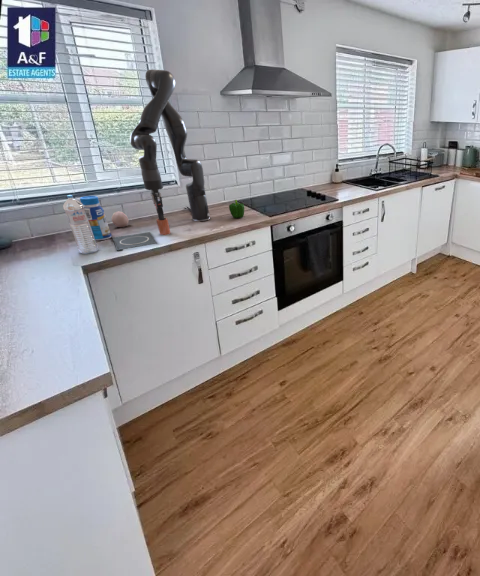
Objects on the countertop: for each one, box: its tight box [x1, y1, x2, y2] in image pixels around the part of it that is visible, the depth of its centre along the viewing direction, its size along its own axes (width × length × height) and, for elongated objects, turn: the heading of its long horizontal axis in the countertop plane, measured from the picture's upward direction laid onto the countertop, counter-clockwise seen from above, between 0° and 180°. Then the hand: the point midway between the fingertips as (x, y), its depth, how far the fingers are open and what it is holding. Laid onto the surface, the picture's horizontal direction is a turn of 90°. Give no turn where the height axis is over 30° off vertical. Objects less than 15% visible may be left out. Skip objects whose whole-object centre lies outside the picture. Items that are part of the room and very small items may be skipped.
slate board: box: [112, 231, 158, 252], centre depth 177 cm, size 20×16×1 cm
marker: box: [154, 204, 165, 220], centre depth 184 cm, size 2×2×13 cm
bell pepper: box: [228, 199, 245, 219], centre depth 217 cm, size 8×8×10 cm
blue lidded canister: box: [79, 195, 113, 241], centre depth 176 cm, size 8×8×20 cm
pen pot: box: [156, 217, 171, 236], centre depth 186 cm, size 5×5×8 cm
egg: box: [111, 211, 129, 228], centre depth 194 cm, size 7×7×8 cm
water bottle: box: [62, 194, 99, 255], centre depth 159 cm, size 7×7×25 cm
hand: (160, 214), depth 183 cm, fingers closed on marker, 2 cm apart
